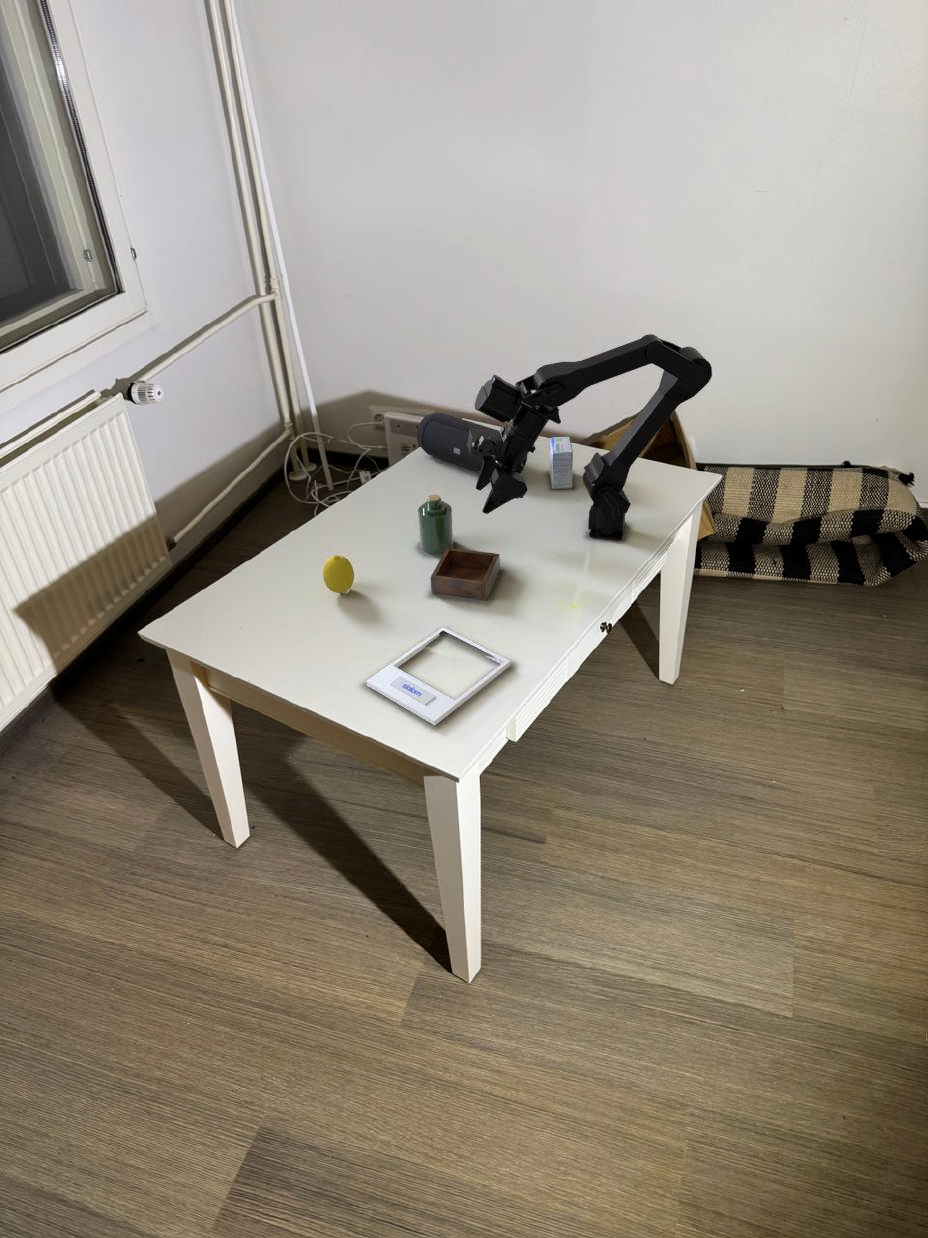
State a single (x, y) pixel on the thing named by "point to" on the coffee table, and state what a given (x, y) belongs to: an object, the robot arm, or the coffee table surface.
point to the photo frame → (421, 695)
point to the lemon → (338, 574)
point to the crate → (465, 574)
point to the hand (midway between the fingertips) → (481, 500)
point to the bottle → (435, 525)
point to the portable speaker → (450, 439)
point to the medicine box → (561, 462)
